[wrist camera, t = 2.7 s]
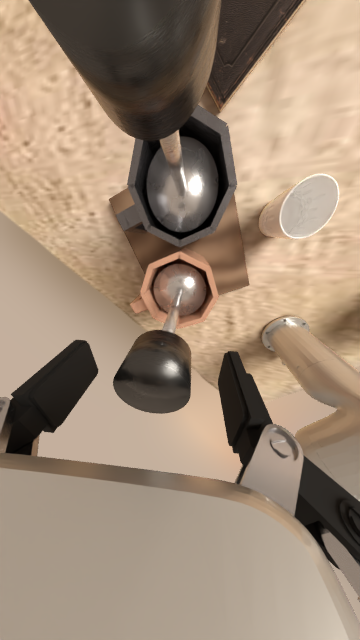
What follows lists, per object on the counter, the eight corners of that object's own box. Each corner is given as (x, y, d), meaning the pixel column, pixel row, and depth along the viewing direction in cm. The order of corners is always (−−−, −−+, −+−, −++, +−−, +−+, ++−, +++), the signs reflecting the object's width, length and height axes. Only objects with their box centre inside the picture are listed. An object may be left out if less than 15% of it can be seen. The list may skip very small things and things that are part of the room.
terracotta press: (213, 288, 37) (224, 315, 23) (161, 306, 41) (145, 338, 27) (199, 241, 32) (203, 240, 19) (142, 265, 36) (110, 280, 22)
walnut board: (247, 283, 37) (249, 285, 36) (164, 310, 43) (163, 313, 42) (221, 135, 25) (223, 129, 24) (112, 201, 31) (108, 199, 30)
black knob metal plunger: (211, 305, 25) (245, 424, 9) (167, 319, 27) (126, 435, 11) (196, 254, 22) (204, 296, 5) (146, 275, 24) (37, 351, 7)
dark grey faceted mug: (221, 229, 31) (242, 220, 17) (159, 256, 34) (136, 266, 21) (205, 159, 26) (219, 68, 12) (135, 199, 29) (85, 163, 16)
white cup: (280, 244, 32) (312, 245, 24) (248, 233, 32) (269, 230, 23) (304, 201, 29) (353, 184, 20) (268, 188, 28) (302, 164, 19)
